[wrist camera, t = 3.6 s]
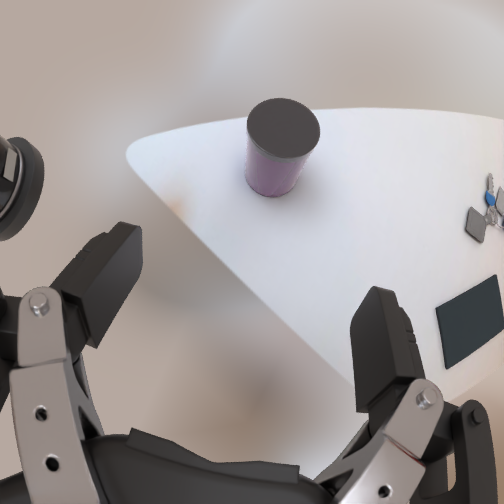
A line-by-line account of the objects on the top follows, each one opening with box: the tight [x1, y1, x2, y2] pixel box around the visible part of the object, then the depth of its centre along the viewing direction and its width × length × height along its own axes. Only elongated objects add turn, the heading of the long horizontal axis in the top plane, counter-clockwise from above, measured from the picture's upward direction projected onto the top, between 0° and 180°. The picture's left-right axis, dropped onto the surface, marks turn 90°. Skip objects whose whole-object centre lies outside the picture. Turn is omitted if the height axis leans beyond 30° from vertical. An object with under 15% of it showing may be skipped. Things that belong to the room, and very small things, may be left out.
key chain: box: [466, 173, 504, 242], centre depth 27 cm, size 14×8×1 cm, turn 101°
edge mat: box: [436, 275, 504, 369], centre depth 25 cm, size 11×7×1 cm, turn 106°
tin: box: [245, 98, 320, 197], centre depth 23 cm, size 5×5×8 cm
